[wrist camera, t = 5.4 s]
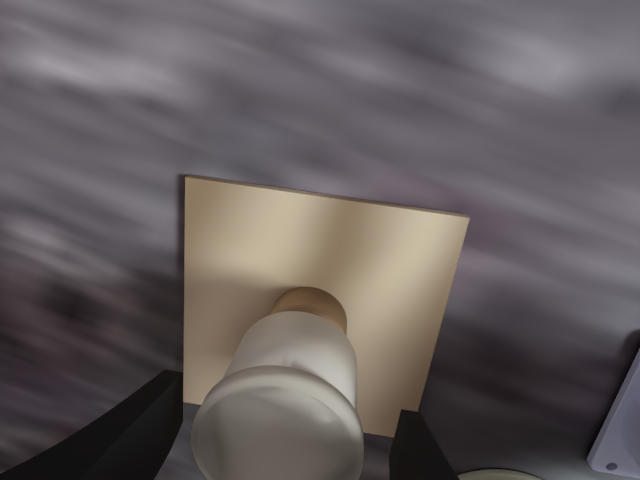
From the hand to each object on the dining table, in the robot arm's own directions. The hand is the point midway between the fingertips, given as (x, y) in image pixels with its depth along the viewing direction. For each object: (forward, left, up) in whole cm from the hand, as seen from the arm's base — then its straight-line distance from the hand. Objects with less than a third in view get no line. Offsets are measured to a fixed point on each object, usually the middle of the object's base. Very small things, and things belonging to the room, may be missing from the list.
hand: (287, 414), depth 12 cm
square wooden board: (0, 0, -6) cm, 6 cm away
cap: (0, 0, -2) cm, 2 cm away
